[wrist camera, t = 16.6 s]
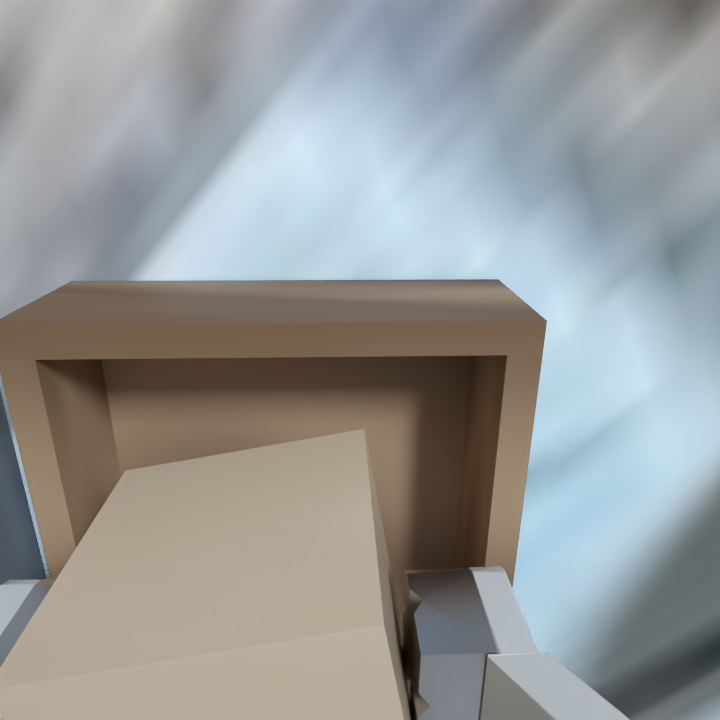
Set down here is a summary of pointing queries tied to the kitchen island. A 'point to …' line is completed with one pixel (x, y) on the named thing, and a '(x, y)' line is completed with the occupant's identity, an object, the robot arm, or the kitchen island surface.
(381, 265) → the kitchen island surface
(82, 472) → the brown rectangular tray
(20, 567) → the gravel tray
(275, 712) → the beige cube
